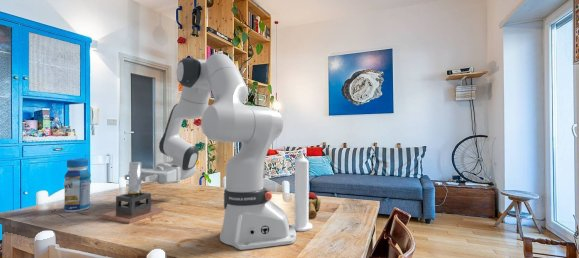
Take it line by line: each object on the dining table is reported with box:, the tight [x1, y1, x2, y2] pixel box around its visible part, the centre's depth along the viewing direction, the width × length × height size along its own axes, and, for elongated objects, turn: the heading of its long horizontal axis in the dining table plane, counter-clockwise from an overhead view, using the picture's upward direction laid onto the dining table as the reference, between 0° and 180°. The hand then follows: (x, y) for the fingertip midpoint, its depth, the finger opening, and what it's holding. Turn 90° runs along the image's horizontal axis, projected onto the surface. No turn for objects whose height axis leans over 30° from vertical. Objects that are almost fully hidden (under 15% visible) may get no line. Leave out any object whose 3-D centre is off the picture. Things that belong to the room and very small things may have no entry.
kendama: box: [308, 191, 321, 219], centre depth 106 cm, size 8×6×18 cm
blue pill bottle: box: [63, 158, 92, 213], centre depth 107 cm, size 8×8×20 cm
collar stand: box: [101, 191, 164, 224], centre depth 99 cm, size 14×14×8 cm
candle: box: [290, 150, 313, 232], centre depth 87 cm, size 7×7×25 cm
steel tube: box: [127, 161, 143, 207], centre depth 100 cm, size 4×4×18 cm
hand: (134, 178), depth 100 cm, fingers open, 8 cm apart
